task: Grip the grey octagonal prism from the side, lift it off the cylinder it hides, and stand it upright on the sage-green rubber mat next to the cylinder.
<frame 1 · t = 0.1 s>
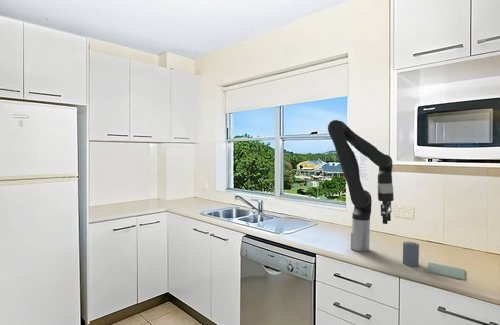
hand: (386, 222, 155), 17 cm above the worktop, tool pointing down, fingers open, 8 cm apart
grey octagonal prism: (410, 264, 141), on the worktop
cylinder: (410, 264, 141), on the worktop
mat: (445, 271, 132), on the worktop
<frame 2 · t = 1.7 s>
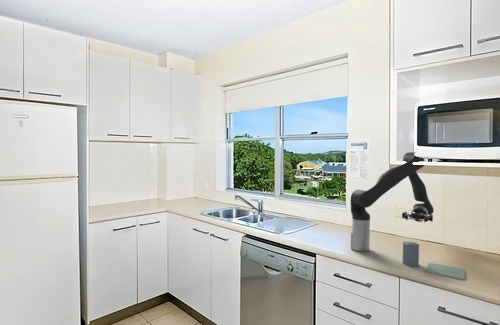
hand: (415, 219, 151), 20 cm above the worktop, tool horizontal, fingers open, 8 cm apart
nothing on the worktop moved.
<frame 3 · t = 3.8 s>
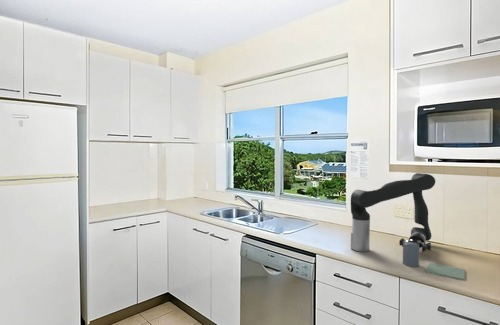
hand: (413, 247, 147), 6 cm above the worktop, tool horizontal, fingers open, 8 cm apart
nothing on the worktop moved.
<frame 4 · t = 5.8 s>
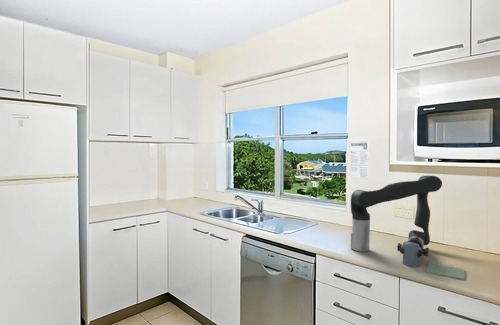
hand: (410, 253, 139), 6 cm above the worktop, tool horizontal, fingers closed on grey octagonal prism, 6 cm apart
grey octagonal prism: (410, 264, 141), on the worktop, touching gripper
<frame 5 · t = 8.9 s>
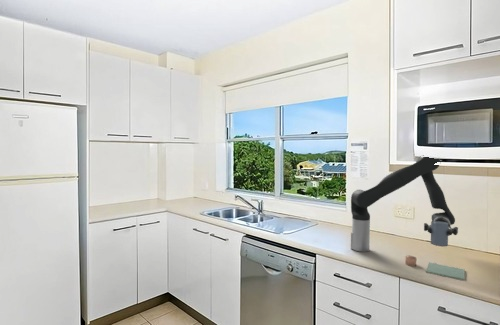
hand: (439, 232, 132), 18 cm above the worktop, tool horizontal, fingers closed on grey octagonal prism, 6 cm apart
grey octagonal prism: (439, 244, 134), point 12 cm above the worktop, touching gripper
when the fingers open (8 cm above the worktop, at t = 12.1 s): grey octagonal prism drops 1 cm, resting on mat.
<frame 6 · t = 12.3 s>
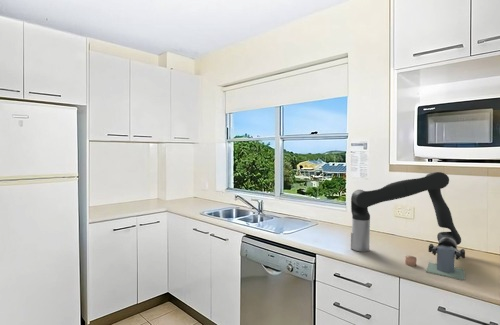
hand: (445, 255, 131), 8 cm above the worktop, tool horizontal, fingers open, 8 cm apart
grey octagonal prism: (445, 270, 133), point 1 cm above the worktop, touching mat
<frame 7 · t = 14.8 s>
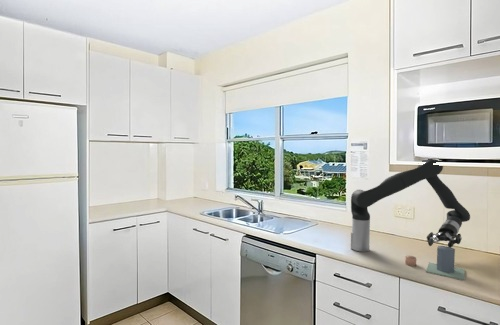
hand: (439, 245, 143), 9 cm above the worktop, tool tilted 70°, fingers open, 8 cm apart
nothing on the worktop moved.
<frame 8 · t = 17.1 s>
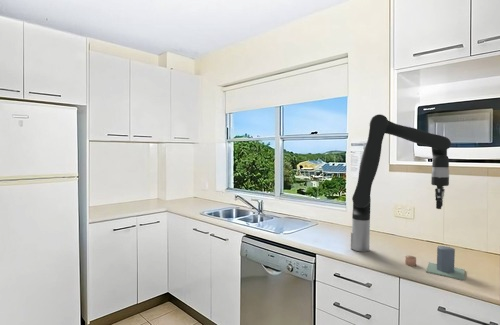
hand: (439, 207, 149), 26 cm above the worktop, tool pointing down, fingers open, 8 cm apart
nothing on the worktop moved.
at the end: grey octagonal prism inside the target area on the mat (0.1 cm from its centre), point 0.6 cm above the mat's base; grey octagonal prism tilted 0°; the gripper is holding nothing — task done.
